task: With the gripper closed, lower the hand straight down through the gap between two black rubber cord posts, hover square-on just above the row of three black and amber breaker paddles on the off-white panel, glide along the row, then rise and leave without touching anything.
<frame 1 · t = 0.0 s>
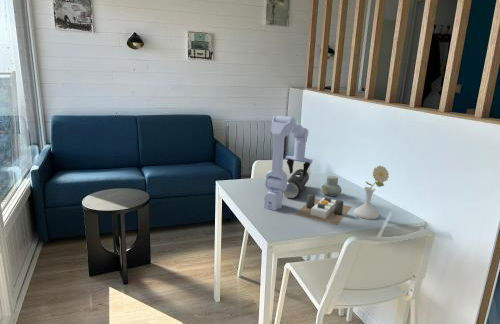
hand: (297, 174, 196), 10 cm above the table, tool pointing down, fingers open, 7 cm apart
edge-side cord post: (338, 213, 168), point 1 cm above the table, touching breaker panel
breaker panel: (323, 212, 171), on the table
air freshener: (330, 194, 198), on the table
muzzle brake: (295, 193, 198), on the table
flower in vase: (367, 217, 169), on the table
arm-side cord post: (310, 207, 174), point 1 cm above the table, touching breaker panel
amber paddle: (324, 202, 170), point 5 cm above the table, hinge at 0.0°
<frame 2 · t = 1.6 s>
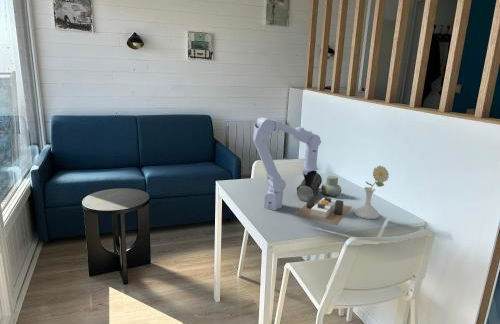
hand: (308, 185, 177), 10 cm above the table, tool pointing down, fingers closed
muzzle brake: (299, 185, 196), point 4 cm above the table, touching breaker panel
everything else where it was.
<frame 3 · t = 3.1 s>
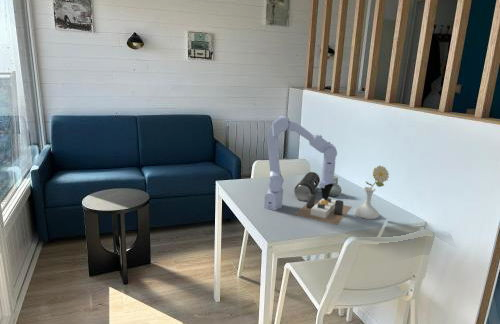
hand: (325, 198, 170), 7 cm above the table, tool pointing down, fingers closed
muzzle brake: (297, 187, 197), point 3 cm above the table
everything else where it was.
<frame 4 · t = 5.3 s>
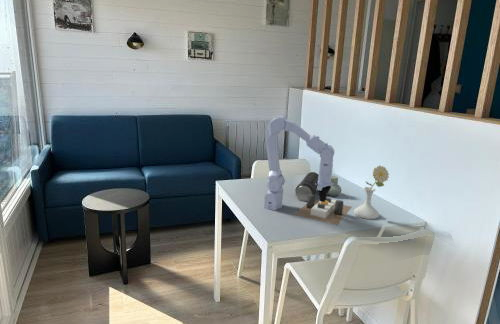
hand: (322, 201, 166), 7 cm above the table, tool pointing down, fingers closed
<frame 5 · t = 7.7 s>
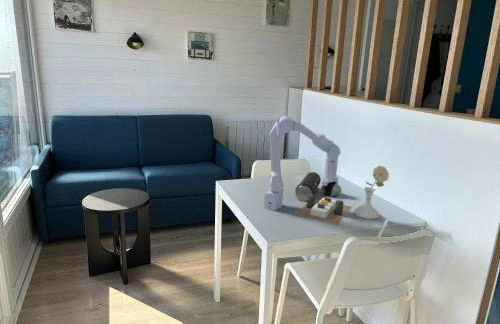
hand: (327, 196, 173), 7 cm above the table, tool pointing down, fingers closed
nothing on the table moved.
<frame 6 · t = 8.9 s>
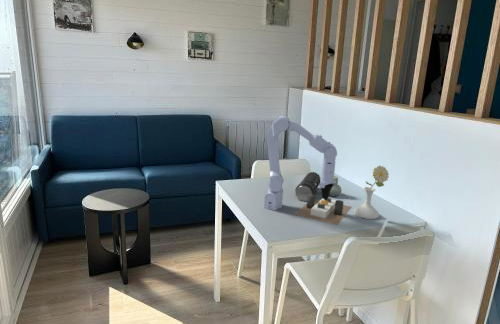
hand: (325, 198, 170), 7 cm above the table, tool pointing down, fingers closed
nothing on the table moved.
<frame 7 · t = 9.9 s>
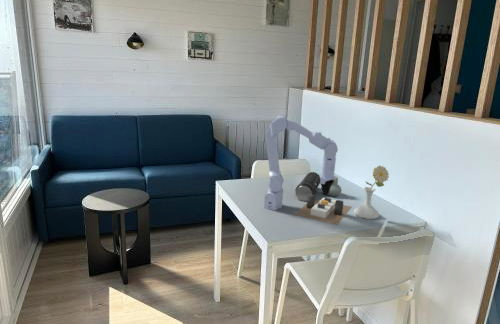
hand: (325, 195, 169), 9 cm above the table, tool pointing down, fingers closed
nothing on the table moved.
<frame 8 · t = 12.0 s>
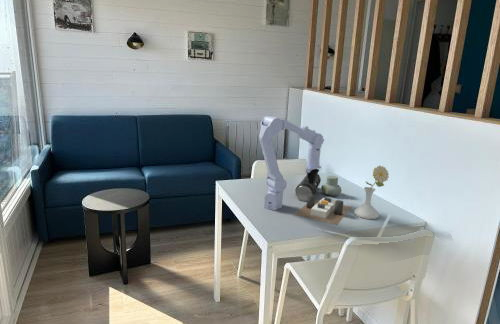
hand: (311, 183, 180), 10 cm above the table, tool pointing down, fingers closed
nothing on the table moved.
at the end: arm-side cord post moved 0.0 cm from its start; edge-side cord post moved 0.0 cm from its start; amber paddle at +0° (first picture: +0°) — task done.
